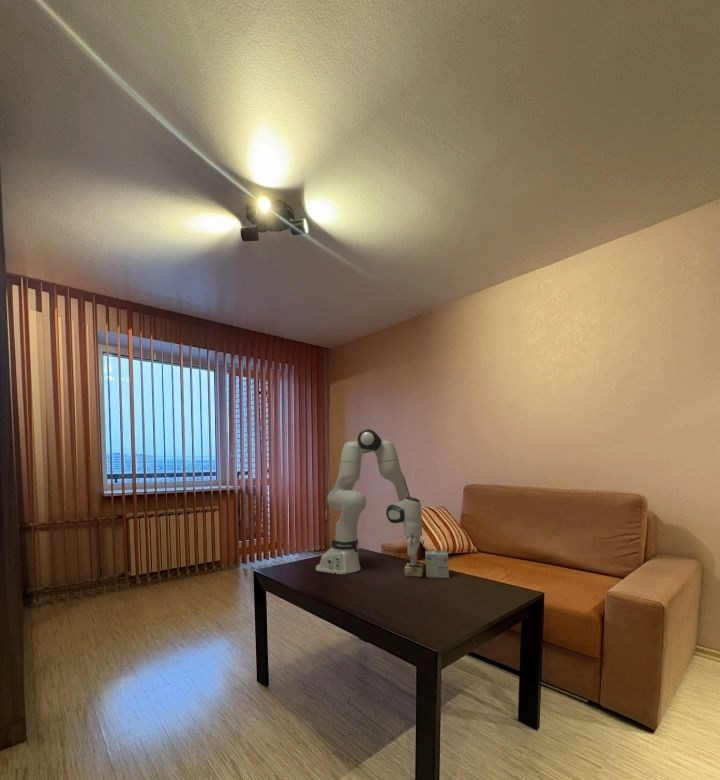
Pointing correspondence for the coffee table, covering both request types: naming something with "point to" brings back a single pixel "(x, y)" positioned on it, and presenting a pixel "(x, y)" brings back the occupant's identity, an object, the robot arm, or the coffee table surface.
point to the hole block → (414, 570)
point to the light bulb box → (437, 564)
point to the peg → (415, 562)
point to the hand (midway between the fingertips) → (413, 561)
